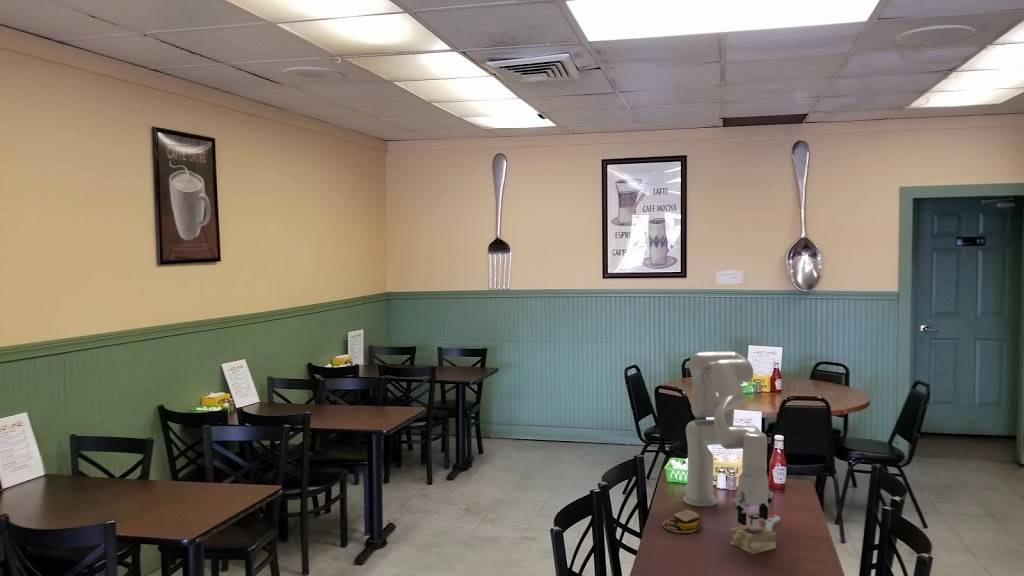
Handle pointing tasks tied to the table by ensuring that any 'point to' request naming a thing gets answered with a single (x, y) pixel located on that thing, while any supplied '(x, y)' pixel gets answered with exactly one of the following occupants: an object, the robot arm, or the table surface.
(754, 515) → the metal peg
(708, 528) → the table surface
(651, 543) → the table surface
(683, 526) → the toy sandwich meal
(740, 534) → the block
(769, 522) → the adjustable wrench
